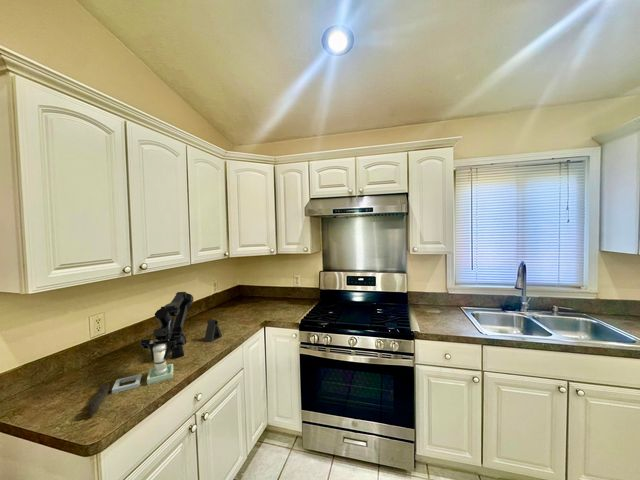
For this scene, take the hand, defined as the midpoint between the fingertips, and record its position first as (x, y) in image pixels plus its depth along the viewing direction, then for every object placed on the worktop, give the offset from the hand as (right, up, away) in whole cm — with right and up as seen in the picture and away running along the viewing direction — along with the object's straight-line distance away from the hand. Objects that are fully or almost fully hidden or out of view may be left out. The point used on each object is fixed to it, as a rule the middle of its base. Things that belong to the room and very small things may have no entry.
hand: (158, 359), depth 128 cm
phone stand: (+8, -7, +46) cm, 47 cm away
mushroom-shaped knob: (0, -7, +2) cm, 7 cm away
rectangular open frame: (-11, -9, -5) cm, 15 cm away
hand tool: (-13, -10, -18) cm, 24 cm away
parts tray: (0, -8, +2) cm, 9 cm away
